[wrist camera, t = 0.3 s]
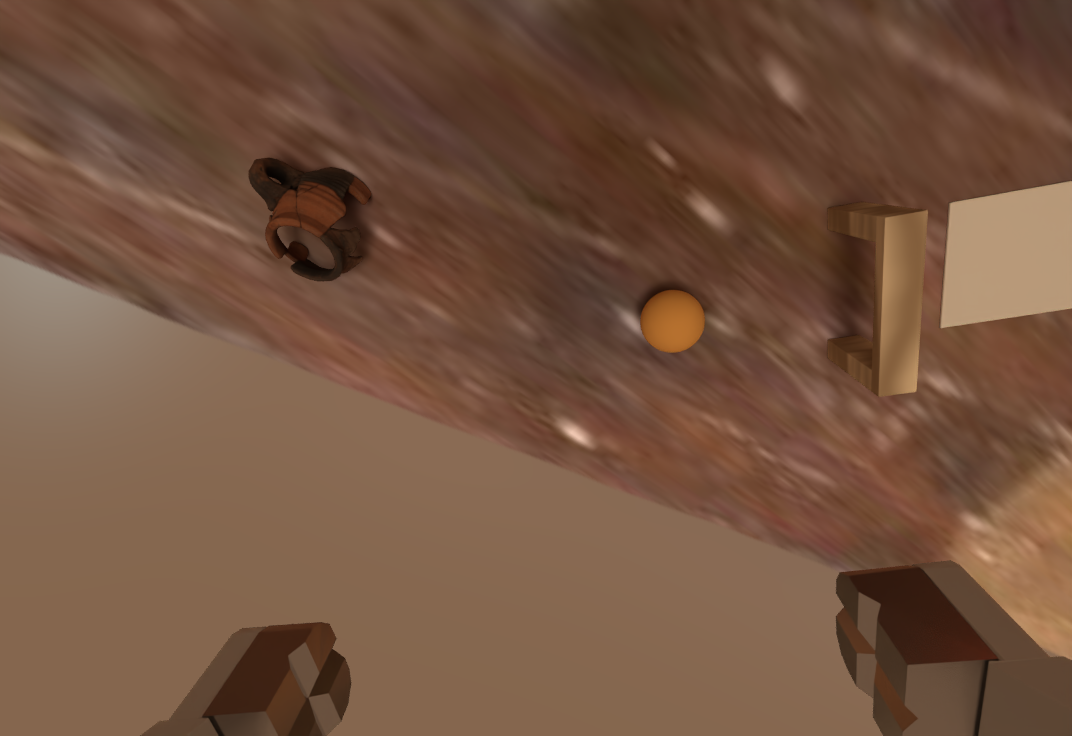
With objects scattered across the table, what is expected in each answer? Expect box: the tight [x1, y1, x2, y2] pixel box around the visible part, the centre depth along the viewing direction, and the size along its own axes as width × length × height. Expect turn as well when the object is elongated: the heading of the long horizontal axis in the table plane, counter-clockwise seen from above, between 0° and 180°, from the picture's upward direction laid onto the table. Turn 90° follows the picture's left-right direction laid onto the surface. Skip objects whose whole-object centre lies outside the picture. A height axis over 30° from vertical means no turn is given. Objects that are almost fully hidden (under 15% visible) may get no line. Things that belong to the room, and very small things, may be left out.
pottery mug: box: [249, 158, 371, 281], centre depth 50 cm, size 12×10×8 cm
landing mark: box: [939, 181, 1072, 328], centre depth 49 cm, size 12×12×1 cm
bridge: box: [828, 202, 928, 397], centre depth 47 cm, size 3×15×10 cm, turn 11°
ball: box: [640, 290, 705, 352], centre depth 51 cm, size 6×6×6 cm
